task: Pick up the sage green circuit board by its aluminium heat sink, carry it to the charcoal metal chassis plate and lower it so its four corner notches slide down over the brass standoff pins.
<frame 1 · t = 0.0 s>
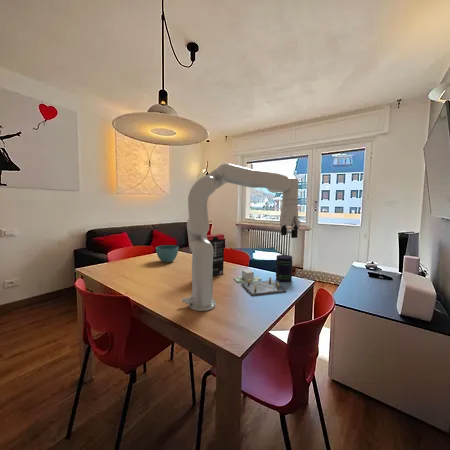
hand: (288, 236, 117), 31 cm above the table, tool pointing down, fingers open, 9 cm apart
teal bowl: (167, 261, 187), on the table
board: (247, 280, 144), on the table
graphics card box: (211, 275, 151), on the table
storage jar: (283, 280, 144), on the table
chassis: (263, 288, 129), on the table
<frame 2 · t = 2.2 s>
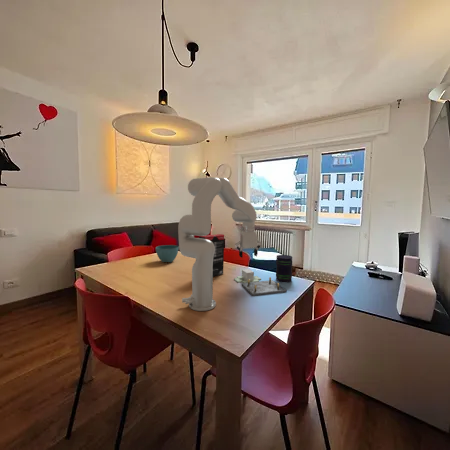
hand: (248, 256, 143), 15 cm above the table, tool pointing down, fingers open, 9 cm apart
nothing on the table moved.
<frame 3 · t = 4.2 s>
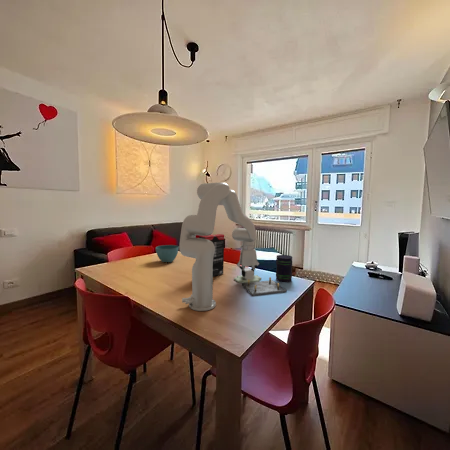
hand: (247, 275, 143), 3 cm above the table, tool pointing down, fingers closed on board, 5 cm apart
board: (247, 279, 144), on the table, touching gripper
everything else where it was.
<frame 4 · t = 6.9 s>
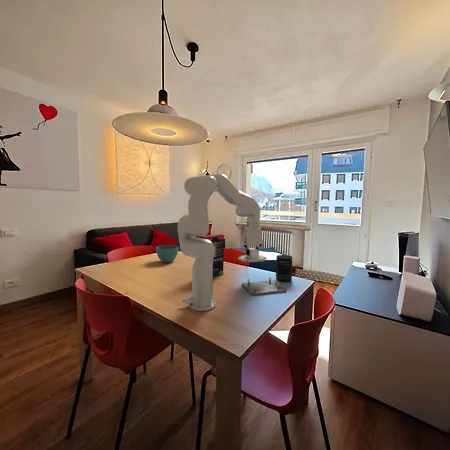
hand: (252, 254, 137), 17 cm above the table, tool pointing down, fingers closed on board, 5 cm apart
board: (252, 259, 138), point 14 cm above the table, touching gripper
everything else where it was.
when the fingers open (5 cm above the table, at t = 9.9 s): board stays where it is, resting on chassis.
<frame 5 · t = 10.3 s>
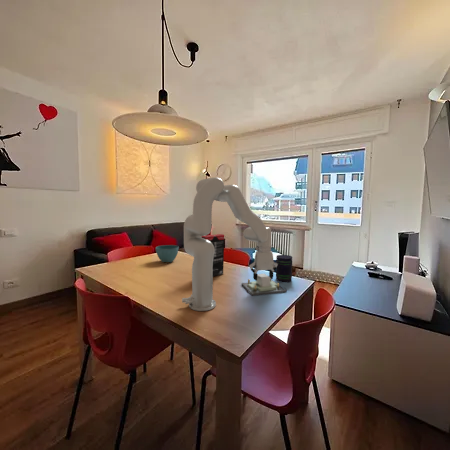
hand: (263, 279, 129), 5 cm above the table, tool pointing down, fingers open, 9 cm apart
board: (263, 286, 129), point 1 cm above the table, touching chassis
everything else where it was.
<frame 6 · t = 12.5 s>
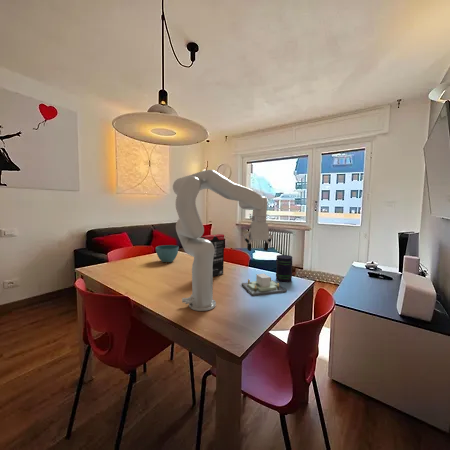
hand: (257, 250, 125), 22 cm above the table, tool pointing down, fingers open, 9 cm apart
nothing on the table moved.
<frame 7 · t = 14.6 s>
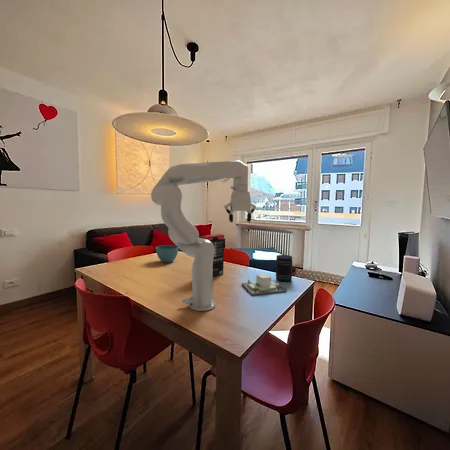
hand: (240, 221, 119), 38 cm above the table, tool pointing down, fingers open, 9 cm apart
nothing on the table moved.
at the end: board 0.1 cm off-centre on the chassis, point 1.2 cm above the chassis's base; board tilted 0°; the gripper is holding nothing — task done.
